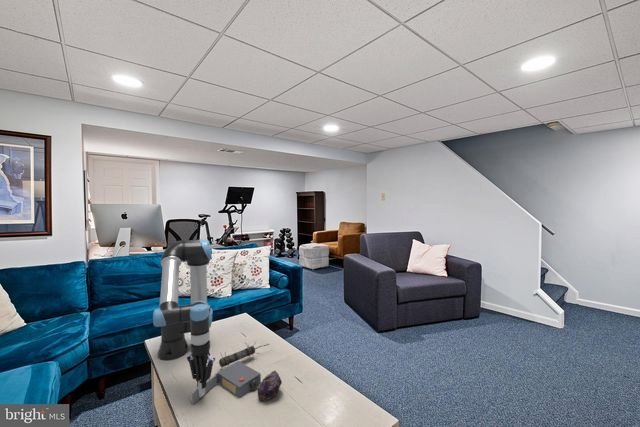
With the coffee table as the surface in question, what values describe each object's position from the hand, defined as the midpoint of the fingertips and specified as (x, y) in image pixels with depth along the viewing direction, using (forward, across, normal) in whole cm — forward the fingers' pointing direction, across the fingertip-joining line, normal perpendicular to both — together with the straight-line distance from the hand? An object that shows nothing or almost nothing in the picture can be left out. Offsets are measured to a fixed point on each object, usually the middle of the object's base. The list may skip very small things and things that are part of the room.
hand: (202, 394), depth 121 cm
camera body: (+2, -10, -13) cm, 17 cm away
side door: (+2, +1, -3) cm, 4 cm away
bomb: (+2, -3, -30) cm, 30 cm away
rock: (+2, -28, -11) cm, 30 cm away
